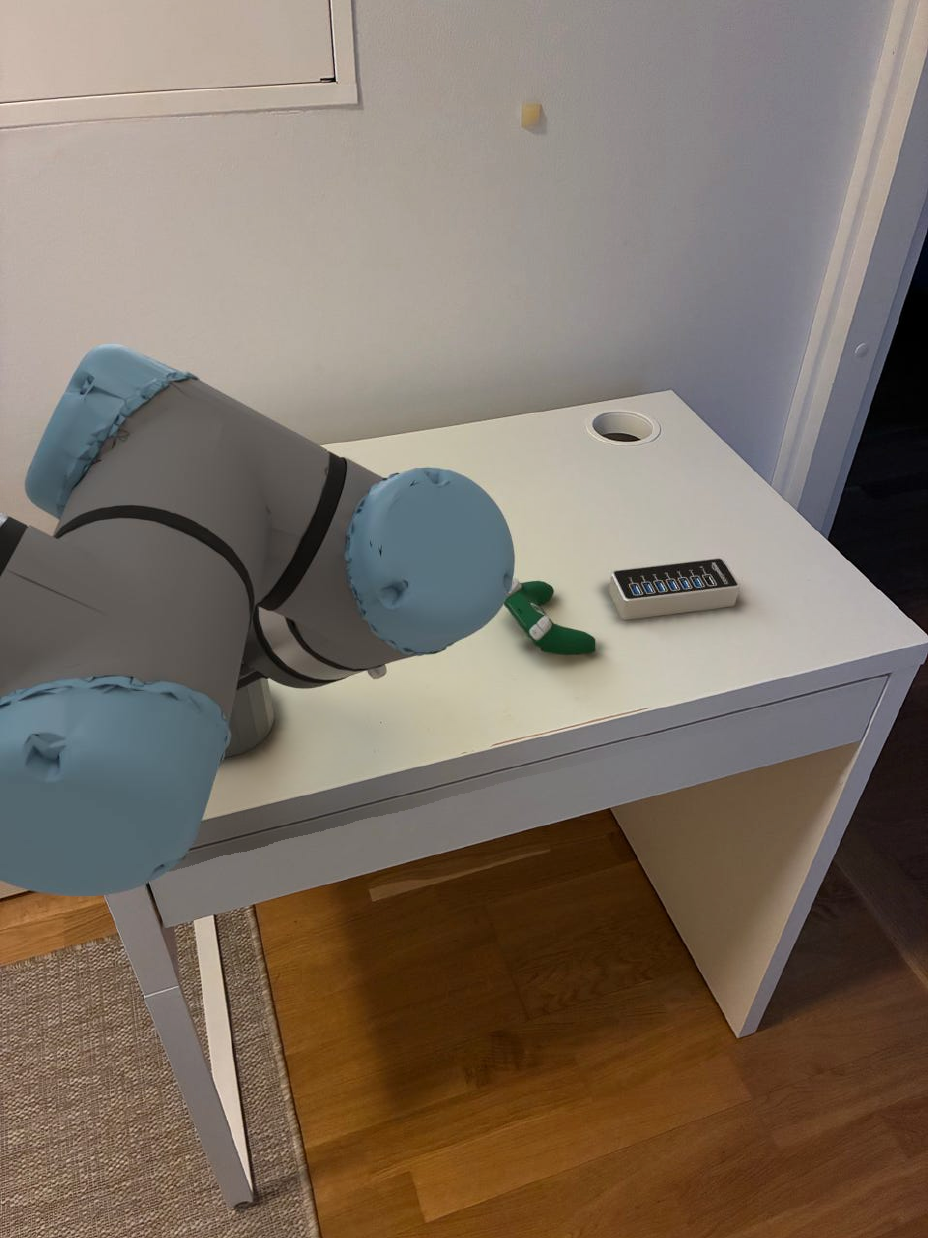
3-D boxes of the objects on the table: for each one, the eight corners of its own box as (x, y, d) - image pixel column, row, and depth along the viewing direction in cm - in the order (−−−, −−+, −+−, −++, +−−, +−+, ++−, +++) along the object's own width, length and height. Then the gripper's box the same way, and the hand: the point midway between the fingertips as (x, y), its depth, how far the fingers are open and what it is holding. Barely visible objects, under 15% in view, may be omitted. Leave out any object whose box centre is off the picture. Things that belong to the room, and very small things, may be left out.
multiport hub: (607, 589, 89) (610, 570, 88) (718, 575, 91) (722, 556, 90) (622, 620, 86) (625, 601, 85) (736, 606, 88) (741, 586, 86)
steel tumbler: (183, 766, 73) (156, 674, 67) (176, 698, 79) (150, 606, 72) (280, 745, 75) (263, 653, 68) (267, 680, 80) (250, 589, 74)
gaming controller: (524, 613, 90) (484, 591, 85) (551, 583, 89) (512, 559, 84) (573, 677, 83) (533, 656, 79) (603, 645, 82) (564, 623, 78)
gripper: (148, 793, 47) (89, 798, 65) (518, 579, 59) (381, 633, 77) (71, 657, 46) (34, 700, 64) (462, 470, 58) (337, 551, 77)
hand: (223, 664), depth 71 cm, fingers open, 13 cm apart
